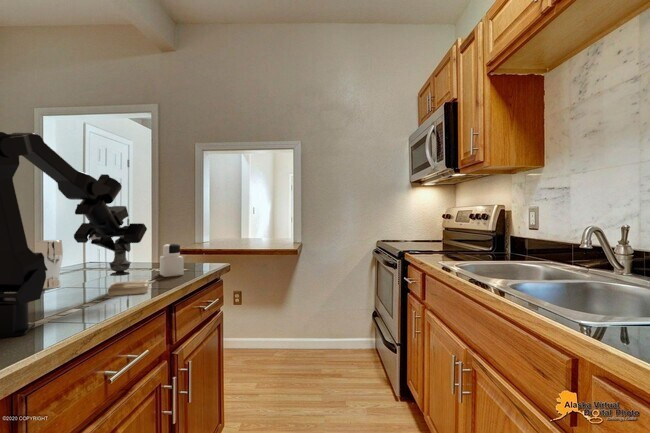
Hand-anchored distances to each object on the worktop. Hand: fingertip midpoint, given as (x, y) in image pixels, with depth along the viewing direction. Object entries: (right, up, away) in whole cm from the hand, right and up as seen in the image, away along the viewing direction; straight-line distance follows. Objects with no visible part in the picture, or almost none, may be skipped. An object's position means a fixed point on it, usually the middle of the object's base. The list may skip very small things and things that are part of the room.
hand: (123, 250), depth 104 cm
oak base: (+3, -12, -1) cm, 13 cm away
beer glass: (-26, -12, +3) cm, 29 cm away
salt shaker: (0, -7, -1) cm, 8 cm away
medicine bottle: (+3, -12, +27) cm, 30 cm away
